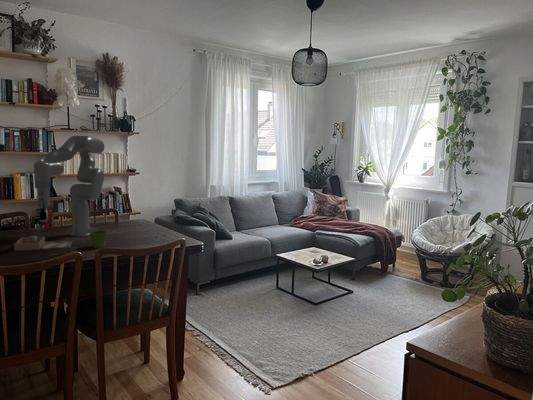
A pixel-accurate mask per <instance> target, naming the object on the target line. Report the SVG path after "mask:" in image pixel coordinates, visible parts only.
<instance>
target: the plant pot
mask: <svg viewBox="0 0 533 400" xmlns="http://www.w3.org/2000/svg"><path fill="white" fill-rule="evenodd" d="M89 234H90V235H89V236H90V238H91V244H92V245H91V246H92V247H93V248H94V249H103V248H104V249H105V248H106V242H107V241H106V240H107V235H108V231H107V230H97V231H91V232H89Z"/></svg>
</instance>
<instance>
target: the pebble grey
mask: <svg viewBox="0 0 533 400" xmlns="http://www.w3.org/2000/svg"><path fill="white" fill-rule="evenodd" d="M39 212H40V210H39ZM39 212H38V213H39ZM46 217H47V219H46V220H40V219H39V222H48V221H49V210H48V209H47V210H46ZM39 218H40V216H39Z"/></svg>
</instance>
